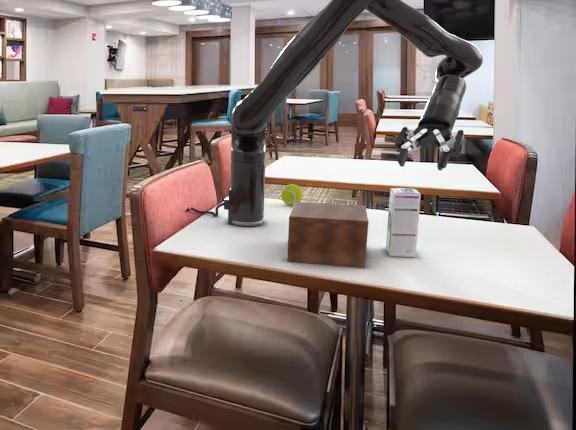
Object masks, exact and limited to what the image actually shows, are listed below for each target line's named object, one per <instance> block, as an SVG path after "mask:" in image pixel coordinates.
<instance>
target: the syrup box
mask: <svg viewBox="0 0 576 430" xmlns="http://www.w3.org/2000/svg"><path fill="white" fill-rule="evenodd" d="M421 195H422V194H421V193H420V192H419V190H418V189H416V188H412V187H390V190H389V201H388V215H387V228H386V242H385V249H386V252H387V253H388V256H390V257H399V258H401V257H402V258H416V254H417V244H418V236H419V235H418V233H419V221H420V208H421V207H420V206H421V197H422V196H421Z"/></svg>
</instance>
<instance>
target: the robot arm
mask: <svg viewBox="0 0 576 430" xmlns="http://www.w3.org/2000/svg"><path fill="white" fill-rule="evenodd" d="M365 10H366V11H367V12H369V13H371V14H372V15H374V16H375V17H377V18H378V19H379V20H381V21H382V22H384V23H385V24H387V25H388V26H389V27H391V28H392V29H393V30H394V31H395V32H397V34H399V35H400V36H401V37H402V38H404V39H405V40H406V41H407V42H408V43H410V44H411V45H412V46H413V47H414V48H415V49H416V50H418V51H419V53H420V52H421V54H422V55H424V57H426V58H430V59H432V58H436V57H438V56H445V57H443V58H442V59H441V60H440V61H439V62H438V65H437V66H436V69H435V85H434V87H433V90H432V92H431V95H430V97H429V98H428V100H427V102H426V104H425V106H424V109H423V112H422V114H421V116H420V119H419V121H418V125H417V127H416V128H414V129H408V127H407V126H403V127H402V128H401V130H400V132H399V134H398V136H397V138H396V140H395V141H394V147H395V150H396V152H397V153H398V156H397V163H398V165H399V167H405V165H406V161H407V159H408V157H409V154H410V153H412V152H413V151H414V152H416V151H418V150H419V149H420V148H421V149H431V150H436V149H437V148H438V149H439V150H440V152H441V153H440V155H439V159H438V161H437V164H436V166H437V170H438V171H443V169H446V168H447V165H448V163H449V161H450V158H452V157H455V158H459V157H460V156H461V153H462V150H463V146H464V142H465V134H464V130H463V129H459V130H458V131H457V132H454V131H453V129H454V126H455V124H456V121H457V118H458V117H459V114H460V110H461V105H462V102H463V99H464V96H465V93H466V90H467V82H466V80H465V78H466V77H468V76H469V75H471V74H473V73H474V72H476V71H478V70H479V69H480V68H481V67H482V65H483V62H484V58H483V57H484V56H483V54H482V52H481V50H480V49H479V47H477V46H476V45H475V44H474V43H472V42H470V41H468V40H465V39H463V38H461V37H458V36H456V35H454V34H451V33H449V32H448V31H446V30H445V29H444V28H443V27H442V26H440V25H439V24H438V23H437V22H435V21H434V20H433V19H432V18H430V16H428V15H427V14H425V13H424V12H422V11H421V10H418V9H417V8H414V7H413V6H411V5H409V4H407V3H406V2H405V1H403V0H330V1H329V2H328V4H326V6H325V7H324V8H323V9H322V10H320V11H319V12H318V13H317V14H316V15H315V16H313V17H312V18H311V19H310V20H309V21H308V22H307V23H305V25H304V26H303V27H301V28H300V30H299V31H298V32H297V33H296V34H295V35H294V37H293V38H292V39H291V40H290V41H289V42H288V43H287V45H286V46H285V47H284V48H283V50H282V51H281V52H280V53H279V54H278V56H277V58H276V60H275V61H274V63H272V66H271V67H270V69H269V71H268V72H267V73H266V75H265V76H264V77H263V79H262V80H261V81H260V82H259V84H258V85H256V87H255V88H254V89H253V90H252V91H251V92H250V93H248V95H246V96H245V97H244V98H243V99H242V100H240V101H238V102H237V103H236V104H235V106H234V107H233V109H232V111H231V114H230V115H231V117H230V119H231V133H230V134H231V139H230V141H231V142H230V183H229V184H230V185H229V187H230V188H229V189H228V196H226V197H225V198H224V199H223V202H222V203H219V204H218V205H217V206H216V207H215V210H214V211H215V212H214V211H211V210H198V209H196V208H194V207H191V206H190V207H191V209H189V207H187V208H185V212H189V211H192V212H195V213H197V214H202V215H205V214H206V215H213V216H214V217H218V216H219V209H220V208H221V207H223V210H224V211H225V210H227V224H229V225H235V226H238V227H239V226H240V227H257V226H262V225H263V224H264V223H265V214H264V213H265V190H266V189H265V187H266V186H265V185H266V184H265V183H266V156H267V147H266V146H267V144H266V143H267V141H266V140H267V139H266V138H267V124H268V122H269V120H270V119H271V117H273V115H274V113H275V112H276V111H277V109H278V108H279V107H280V106H281V104H282V103H283V102H284V100H285V99H286V98H287V97H288V96H289V95H290V94H291V93H292V92H294V91H295V89H297V88H298V87H299V86H300V85H301V84H302V83H303V82H304V81H305V80H306V79H307V78H308V77H309V76H310V75H311V74H312V73H313V72H314V71H315V70H316V68H318V66H319V65H320V64H321V63H322V62H323V60H325V58H326V57H327V56H328V54H330V52H331V51H332V50H333V48H334V47H335V46H336V44H337V43H338V42H339V40H340V39H342V37H343V35H344V34H345V32H346V31H347V30H348V28H349V27H350V26H351V24H353V23H354V21H355V20H356V19H357V18H358V17H359V16H360V15H361V14H362V13H363V12H364V11H365ZM452 131H453V132H452ZM450 140H453V142H454V143H453V147H452V148H450V147H449V146H448V144H447V142H449V141H450ZM179 301H180V302H183V300H182V299H180V300H179Z"/></svg>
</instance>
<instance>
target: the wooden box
mask: <svg viewBox="0 0 576 430" xmlns="http://www.w3.org/2000/svg"><path fill="white" fill-rule="evenodd" d="M287 232H288V233H287V235H288V236H287V257H286V258H287V259H286V261H287V262H289V263H290V262H292V263H305V264H315V265H325V266H327V265H328V266H340V267H351V268H352V267H353V268H364V269H365V268H366V258H367V248H368V247H367V246H368V233H369V217H368V212H367V206H366V205H362V204H347V203H346V204H344V203H326V202H325V203H324V202H308V201H300V202H295V203H294V205H293V206H292V208H291V210H290V214H289V215H288V231H287Z"/></svg>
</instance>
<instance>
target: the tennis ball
mask: <svg viewBox="0 0 576 430" xmlns="http://www.w3.org/2000/svg"><path fill="white" fill-rule="evenodd" d="M280 197H281V200H282V201H283V203H284V204H285V205H287V206H292V207H293V206H294V203H295V202H302V200H303V197H304V193H303V190H302V188H301V187H300V186H299V185H297V184H294V183H290V184H287V185H285V186H284V187H283V188H282V190H281V192H280Z"/></svg>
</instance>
